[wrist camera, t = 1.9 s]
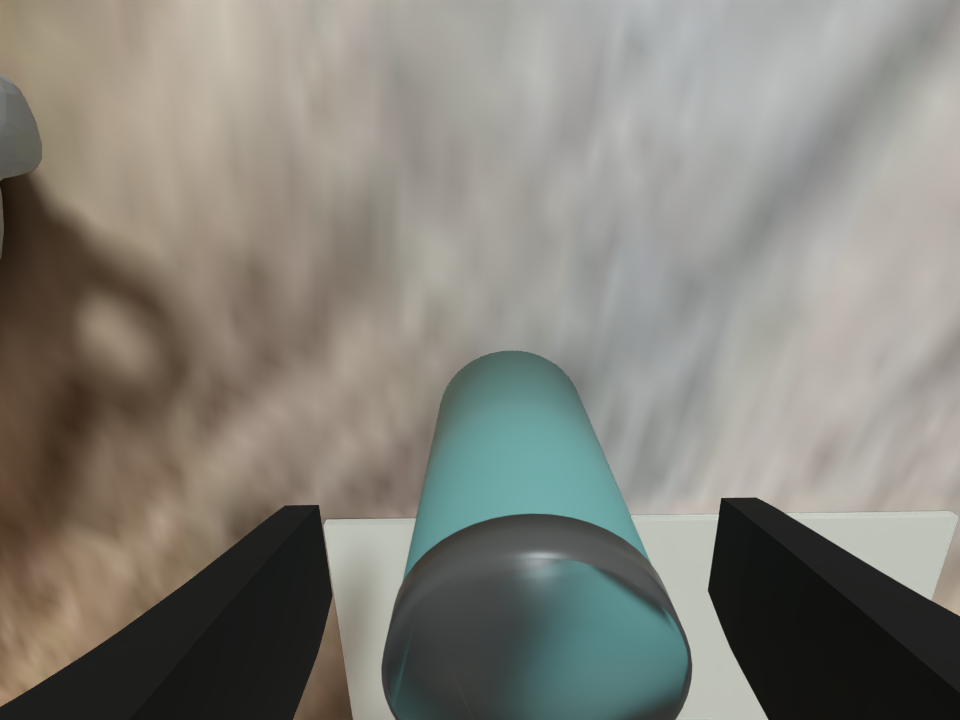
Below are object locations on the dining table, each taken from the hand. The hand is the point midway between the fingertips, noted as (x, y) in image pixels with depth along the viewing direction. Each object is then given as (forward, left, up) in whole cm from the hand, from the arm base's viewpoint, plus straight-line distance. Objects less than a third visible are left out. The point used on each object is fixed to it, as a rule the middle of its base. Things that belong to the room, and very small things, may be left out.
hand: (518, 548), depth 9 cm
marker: (0, 0, -6) cm, 6 cm away
